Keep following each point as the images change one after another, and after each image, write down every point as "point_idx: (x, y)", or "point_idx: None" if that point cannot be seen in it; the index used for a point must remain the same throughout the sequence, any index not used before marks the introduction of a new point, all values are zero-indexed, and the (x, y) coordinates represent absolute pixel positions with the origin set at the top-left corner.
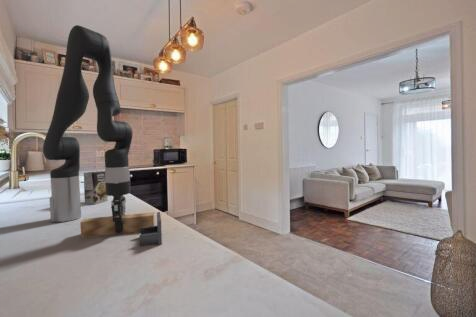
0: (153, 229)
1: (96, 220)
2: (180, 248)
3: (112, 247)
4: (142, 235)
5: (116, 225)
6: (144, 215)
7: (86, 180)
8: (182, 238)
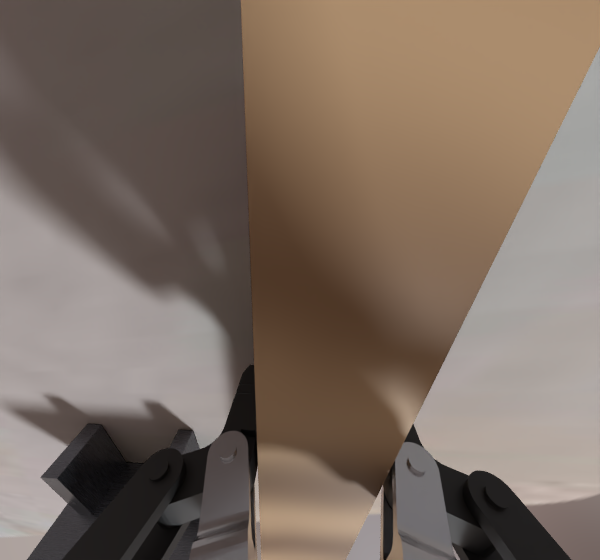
0: None
1: (269, 308)
2: None
3: (68, 343)
4: (49, 483)
5: (232, 409)
6: (281, 557)
7: None
8: None
